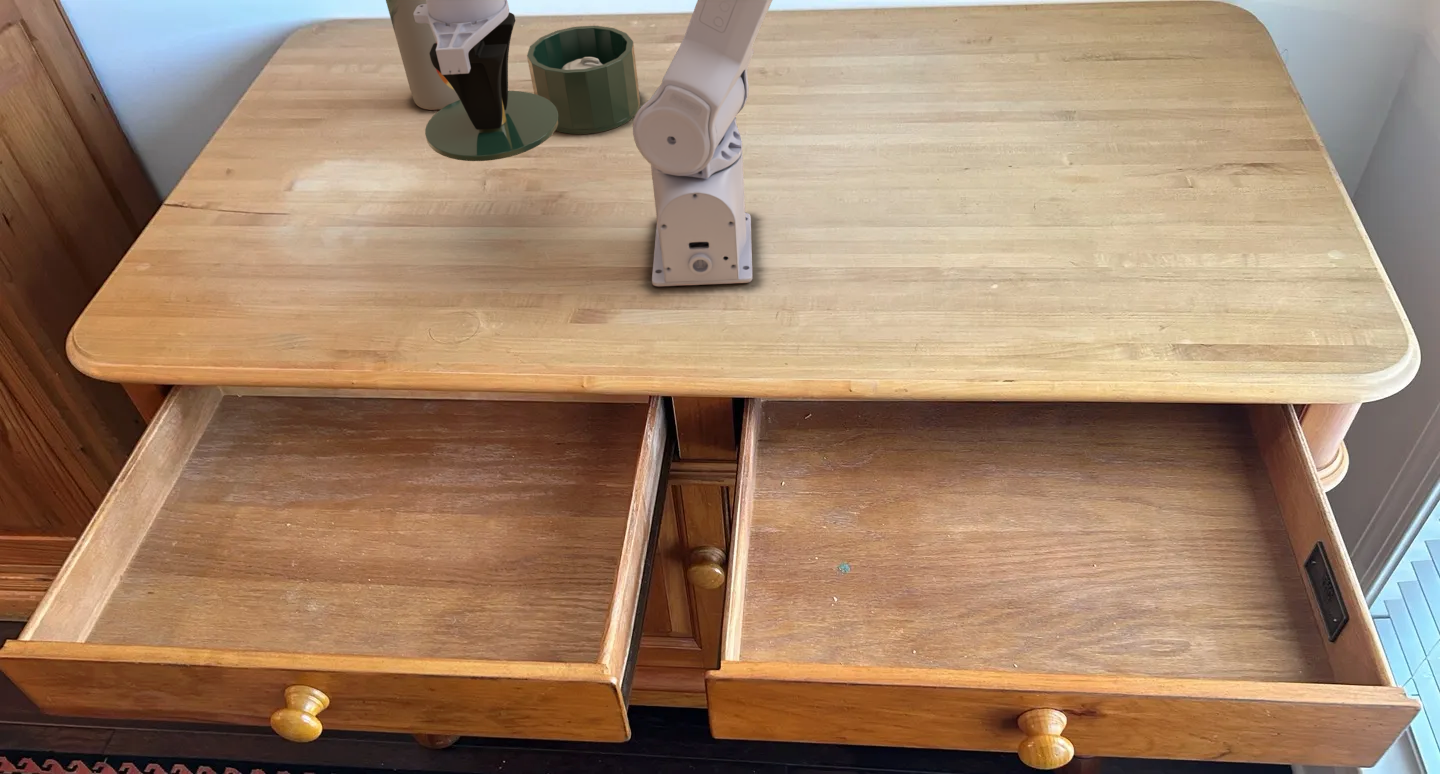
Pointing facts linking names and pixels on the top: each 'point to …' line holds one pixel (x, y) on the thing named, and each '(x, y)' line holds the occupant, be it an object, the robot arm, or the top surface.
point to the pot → (586, 78)
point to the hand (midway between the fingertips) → (491, 117)
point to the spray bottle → (419, 57)
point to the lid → (519, 132)
